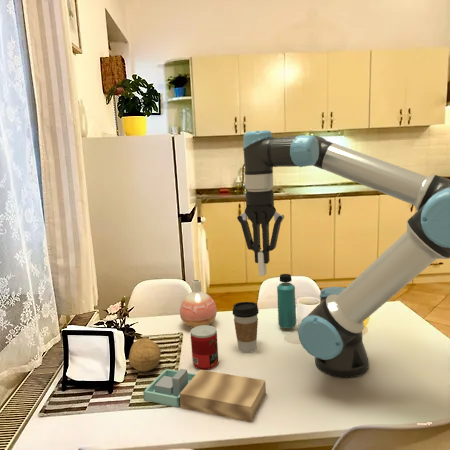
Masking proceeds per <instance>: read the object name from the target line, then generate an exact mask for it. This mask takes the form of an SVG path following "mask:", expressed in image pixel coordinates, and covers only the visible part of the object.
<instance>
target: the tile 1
mask: <svg viewBox="0 0 450 450" xmlns="http://www.w3.org/2000/svg"><path fill="white" fill-rule="evenodd" d="M172 378H173V377H168V376H163V377H162V378H161V379H160V380H159V381H158V382H157V383H156V384H155V385H154V386H155V392H157V393H162V394H168V395H172V394H173V385H172Z"/></svg>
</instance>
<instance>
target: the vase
mask: <svg viewBox="0 0 450 450" xmlns="http://www.w3.org/2000/svg"><path fill="white" fill-rule="evenodd" d="M191 285H192V286H191V287H192V292H190V293H188V295H186V296H185V297H184V299H183V300H182V301H181V303H180V307H179V316H180V319H181V320H182V322H183V323H184V324H185V325H186V326H188V327H189V328H190V329H193V328H194V327H197V326H201V325H209V326H210V325H211V324H212V323H213V322H214V321H215V319H216V318H217V311H218V309H217V305H216V303H215V300H214V299H213V298H212V296H210V294H207V293H206V292H204V291H202V285H201V280H200V279H199V278H198V279H197V278H196V279H192V281H191Z"/></svg>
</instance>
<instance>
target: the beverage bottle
mask: <svg viewBox="0 0 450 450" xmlns="http://www.w3.org/2000/svg"><path fill="white" fill-rule="evenodd" d="M279 282H280V283H279V284H278V285H277V287H276V291H277V293H276V294H277V317H278V318H277V320H278V321H277V322H278V326H280V327H281V328H285V329H292V328H295V327H296V326H297V306H296V304H297V303H296V286H295V285H294V284H293V283H292V275H291V274H289V273H282V274H280V275H279Z"/></svg>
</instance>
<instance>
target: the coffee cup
mask: <svg viewBox="0 0 450 450" xmlns="http://www.w3.org/2000/svg"><path fill="white" fill-rule="evenodd" d="M259 312H260V310H259V307H258V303H256V302H253V301H239V302H237V303H234V305H233V308H232V315H233V318H234V319H233V323H234V329H235V336H236V340H237V348H238V351H240V352H241V353H252V352H255V351H256V350H257V341H258V340H257V338H258V327H259V326H258V324H259V323H258V322H259V318H258V314H260V313H259Z"/></svg>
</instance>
